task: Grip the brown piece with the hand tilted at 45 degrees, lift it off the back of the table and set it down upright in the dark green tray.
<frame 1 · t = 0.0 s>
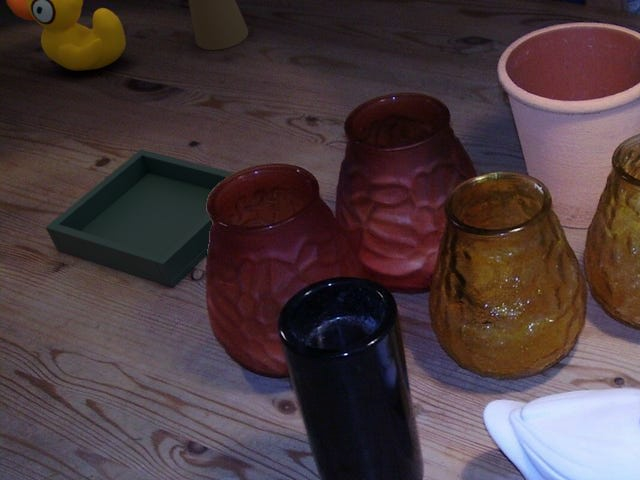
brown piece: (222, 38, 115), on the table
tray: (160, 225, 90), on the table
duckling: (88, 68, 113), on the table
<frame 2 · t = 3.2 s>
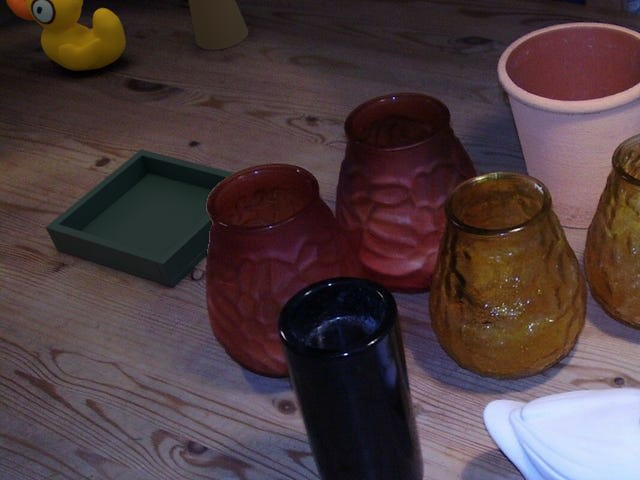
nothing on the table moved.
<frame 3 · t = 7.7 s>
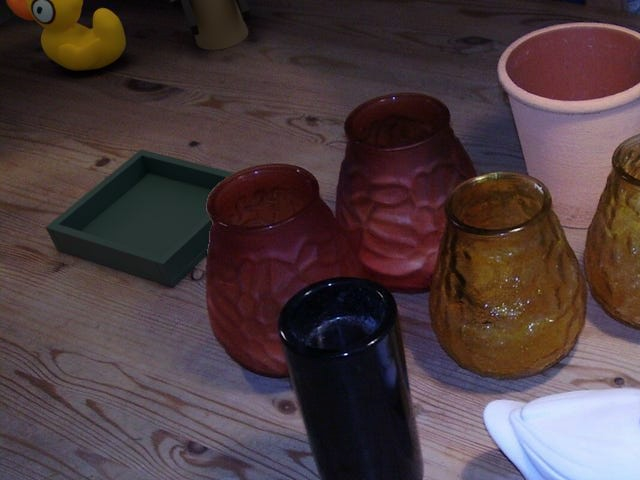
hand: (220, 22, 110), 3 cm above the table, tool tilted 45°, fingers closed on brown piece, 5 cm apart
brown piece: (222, 38, 115), on the table, touching gripper
everything else where it was.
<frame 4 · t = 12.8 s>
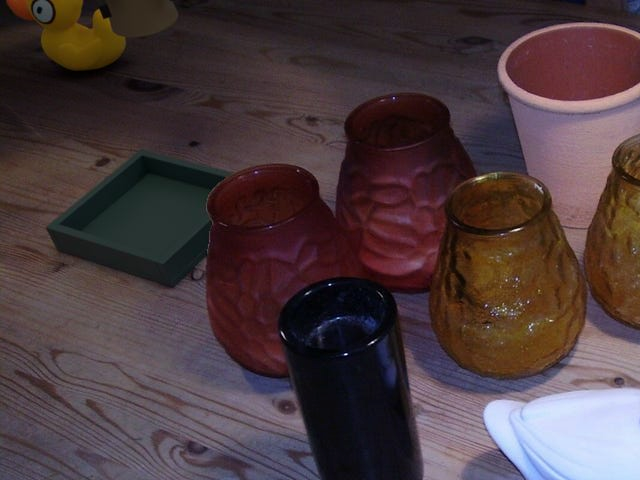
hand: (139, 2, 85), 16 cm above the table, tool tilted 45°, fingers closed on brown piece, 5 cm apart
brown piece: (145, 22, 90), point 13 cm above the table, touching gripper
everything else where it was.
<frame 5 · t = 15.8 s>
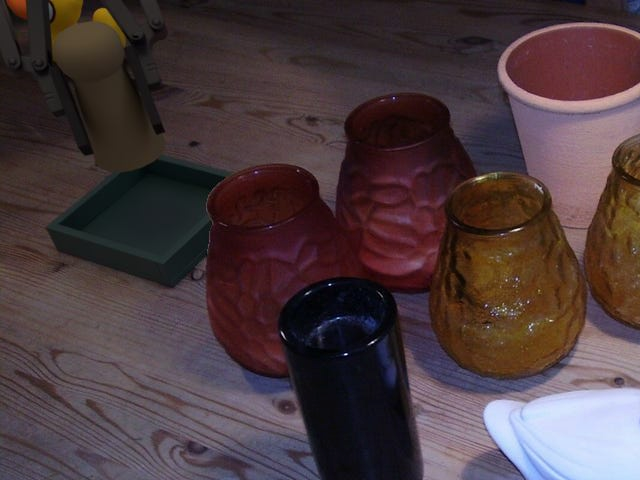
hand: (122, 139, 79), 11 cm above the table, tool tilted 45°, fingers closed on brown piece, 5 cm apart
brown piece: (131, 153, 84), point 8 cm above the table, touching gripper
everything else where it was.
when the fingers open (4 cm above the table, at t = 18.1 s): brown piece stays where it is, resting on tray.
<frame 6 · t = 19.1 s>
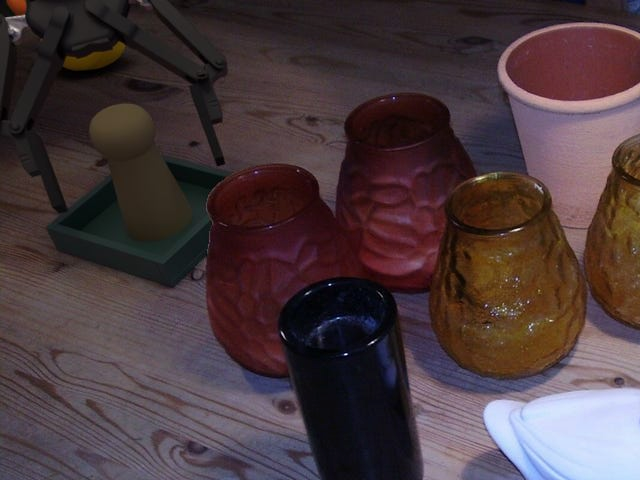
hand: (141, 185, 84), 6 cm above the table, tool tilted 45°, fingers open, 13 cm apart
brown piece: (159, 221, 90), resting on tray
everything else where it was.
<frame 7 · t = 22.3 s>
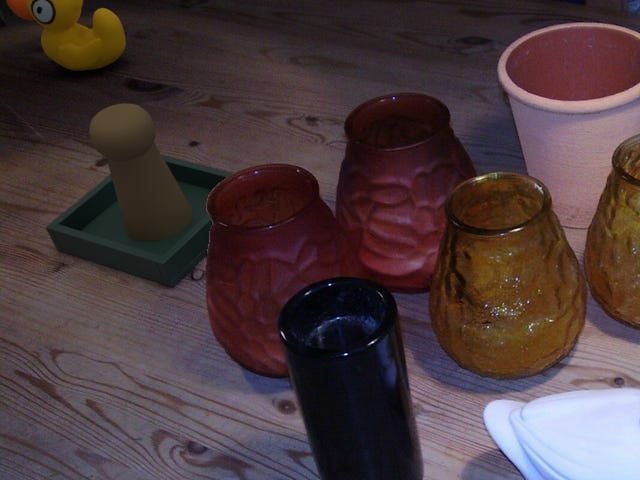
hand: (79, 1, 86), 17 cm above the table, tool tilted 45°, fingers open, 13 cm apart
nothing on the table moved.
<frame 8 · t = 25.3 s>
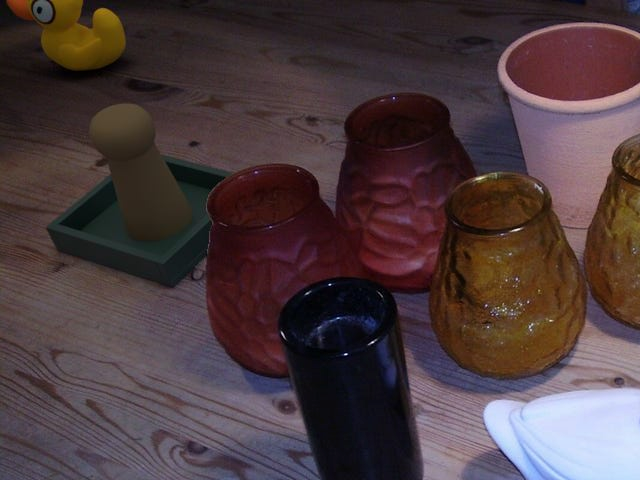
nothing on the table moved.
at the end: brown piece inside the target area in the tray (0.0 cm from its centre), point 0.4 cm above the tray's base; brown piece tilted 0°; the gripper is holding nothing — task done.
